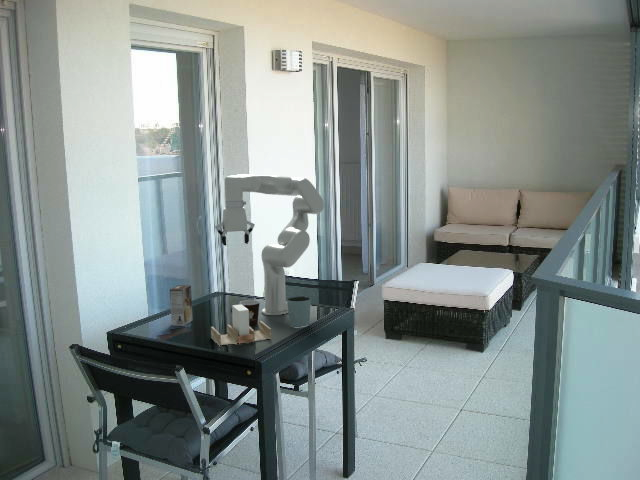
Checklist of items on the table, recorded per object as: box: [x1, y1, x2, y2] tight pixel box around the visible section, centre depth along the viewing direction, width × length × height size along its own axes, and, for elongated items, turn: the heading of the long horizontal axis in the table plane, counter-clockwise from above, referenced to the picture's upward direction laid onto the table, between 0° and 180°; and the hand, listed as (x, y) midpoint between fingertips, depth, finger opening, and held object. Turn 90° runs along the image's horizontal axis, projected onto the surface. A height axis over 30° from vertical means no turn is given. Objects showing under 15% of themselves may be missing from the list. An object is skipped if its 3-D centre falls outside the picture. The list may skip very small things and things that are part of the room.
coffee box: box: [169, 284, 193, 327], centre depth 301 cm, size 9×6×16 cm
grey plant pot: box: [286, 295, 312, 327], centre depth 294 cm, size 10×10×12 cm
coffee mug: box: [230, 299, 260, 328], centre depth 297 cm, size 12×9×10 cm
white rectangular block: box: [231, 304, 249, 336], centre depth 276 cm, size 4×10×12 cm, turn 22°
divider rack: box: [210, 320, 272, 347], centre depth 277 cm, size 21×14×5 cm, turn 112°
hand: (235, 244), depth 298 cm, fingers open, 9 cm apart
